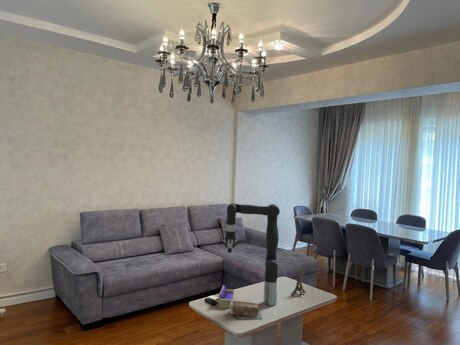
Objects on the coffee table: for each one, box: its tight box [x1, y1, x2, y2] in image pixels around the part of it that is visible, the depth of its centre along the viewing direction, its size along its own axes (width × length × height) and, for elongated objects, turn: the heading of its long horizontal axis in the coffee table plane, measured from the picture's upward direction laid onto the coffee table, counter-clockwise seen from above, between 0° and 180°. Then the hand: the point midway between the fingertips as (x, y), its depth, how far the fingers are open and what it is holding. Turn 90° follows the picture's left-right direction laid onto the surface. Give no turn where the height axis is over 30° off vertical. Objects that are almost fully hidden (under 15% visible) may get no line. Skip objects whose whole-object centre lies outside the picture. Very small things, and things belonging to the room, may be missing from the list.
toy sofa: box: [218, 284, 235, 309], centre depth 259 cm, size 21×9×10 cm, turn 172°
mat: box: [235, 309, 263, 320], centre depth 240 cm, size 17×14×2 cm
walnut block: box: [229, 300, 259, 317], centre depth 240 cm, size 6×8×18 cm
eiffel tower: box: [291, 268, 307, 296], centre depth 284 cm, size 11×11×25 cm
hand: (229, 252), depth 262 cm, fingers closed
